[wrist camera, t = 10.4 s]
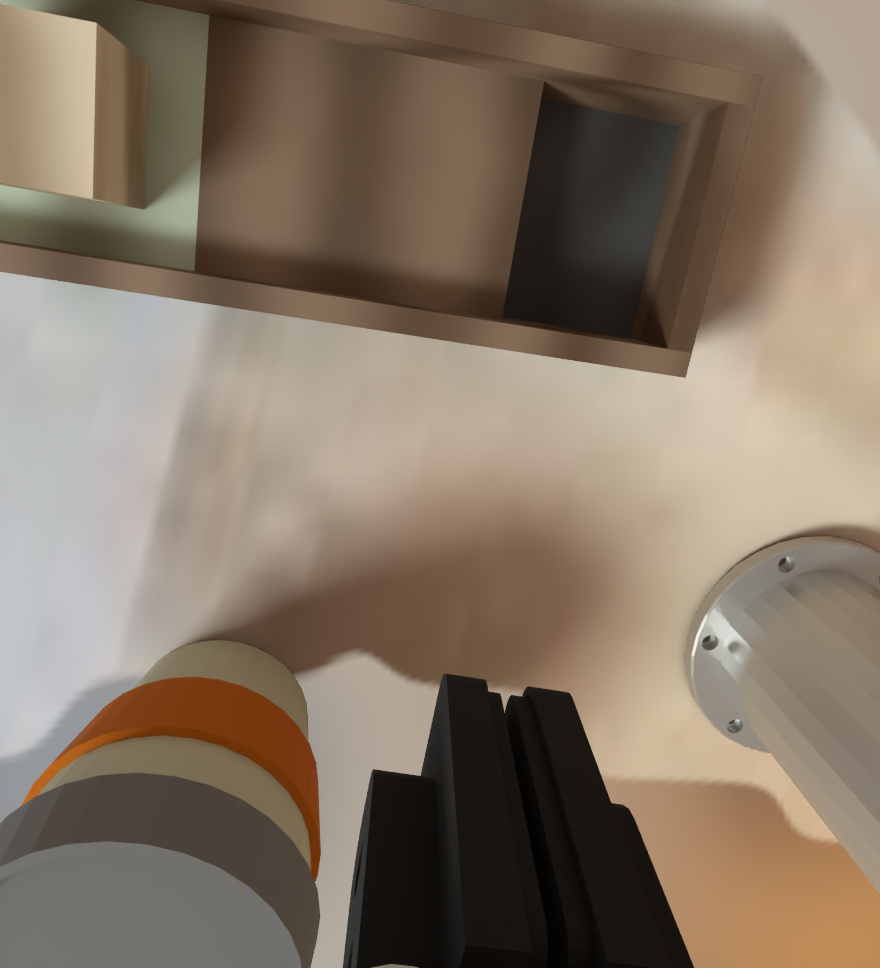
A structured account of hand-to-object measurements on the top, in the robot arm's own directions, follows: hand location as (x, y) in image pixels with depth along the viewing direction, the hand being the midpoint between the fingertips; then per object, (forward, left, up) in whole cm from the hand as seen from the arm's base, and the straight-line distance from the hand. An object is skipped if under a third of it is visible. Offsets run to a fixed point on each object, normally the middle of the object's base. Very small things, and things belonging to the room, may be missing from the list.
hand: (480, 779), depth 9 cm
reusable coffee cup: (+8, +18, -26) cm, 32 cm away
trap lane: (+8, -9, -26) cm, 28 cm away
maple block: (+14, -9, -23) cm, 28 cm away
